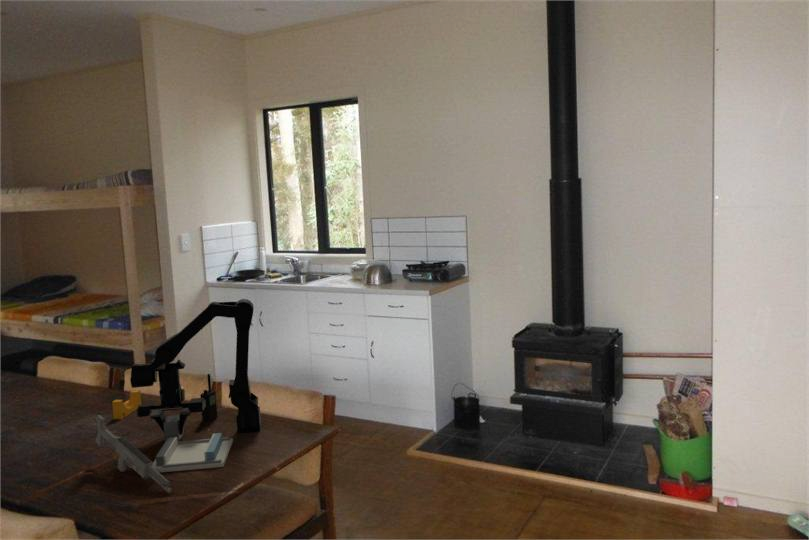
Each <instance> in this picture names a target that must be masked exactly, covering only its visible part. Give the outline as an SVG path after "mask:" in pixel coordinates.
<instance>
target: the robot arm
mask: <svg viewBox="0 0 809 540" xmlns="http://www.w3.org/2000/svg"><path fill="white" fill-rule="evenodd" d="M254 308H255V307H254V304H253V302H252V301H251V300H250V299H248V298H247V299H246V298H241V299H238V300H237V301H211V302H210V303H209V304H208V305H207V307H205V308H204V309H203V310H202V311H201V312H200V313H199V314H198V315H196V316H195V318H193V319H192V320H191V321H190V322H189V323H188V324H187V325H186V326H184V327H183V329H181V330H180V331H179V332H177V333H175V334H174V335H172V336H170V337H169V338H167V339H166V340H164V341H162V342H161V343H160V344H159V346H157V348H156V350H155V352H154V354H155V355H154V356H155V358H152V360H151V362H149V363H133V364H132V365H131V372H130V379H129V380H130V386H131V388H132V389H136V388H144V387H145V388H146V387H154V384H155V383H157V382H159V383H158V384H159V385H158V387H159V391H158V392H159V397H160V404H156V402H155V401H144V402H143V401H142V402H141V405H140V406H139V407H138V408H137V409H136V418H137V417H138V418H142V417H149V416H150V415H151V416H150V419H153V420H154V421H155V422H156V424H157V425H158V426H159V427H160V429H161V431H162V432H163V433H164V424H163V423H164V421H165V420H166V419H167V418H166V411H177V410H180V411H181V412H180V414H179V415H180V433H181V435H182V434H183V433H184V431H185V430H184V429H185V427H186V421H187V419H188V417H189V416H191V415H192V414H193V413H202V411H203V410H204V408H205V407H206V401H205V399H204V398H201V397H193V398H191V399H190V401H186V402H184V400H185V399H186V398H185V395H186V394H185V393H186V390H185V389H184V388H182V386H181V380H180V379H181V378H180V370H184V369H185V367H186V363H184V362H182V361H181V359H178V360H176V361H175V362H173V361H174V360H175V359H176V358H177V356H179V355H180V353H181V351H182V350H183V348H184V347H185V346H186V344H187V343H189V341H191V340H192V339H193V338H194V337H195V336H196V335H197V334H198V333H199V332H200V331H201V330H203V329H204V328H205V327H206V326H207V325H208V324H209V323H210V322H211V321H213V319H215V318H217V317H221V318H228V319H231V318H233V319H234V324H235V330H236V343H235V344H236V345H235V346H236V348H235V375H234V379H229V382H228V389H229V393H228V399H230V403H231V404H232V406H234V407H235V408H237V413H236V416H235V417H236V418H235V420H236V421H235V422H236V429H237V432H238V433H250V432H251V433H252V432H260V431H261V428H262V425H263V424H262V421H261V407H260V405H259V397H258V396H257V395H255V394H254V393H253V392H252V391H251V384H250V380H249V373H248V372H249V351H250V350H249V349H250V347H249V346H250V345H249V344H250V329H251V324H252V320H253V317H254ZM164 364H165V365H164ZM183 435H184V434H183ZM183 435H182V436H183Z"/></svg>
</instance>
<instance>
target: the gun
mask: <svg viewBox="0 0 809 540" xmlns="http://www.w3.org/2000/svg"><path fill="white" fill-rule="evenodd" d="M95 418H96V419H95V420H96V426H97V434H96V439H95V443H96V444H97V445H98V446H99V447H104V446H105V443H106V442H105V441H107V442H109V444H110V445H112V446H113V447H114V448H115V452H116V453H117V454H118V455H119V456H118V459H117V469H118V470H119V471H120V472H121V473H123V472H126V467H129V469H133V470H134V471H135V472H136V473H137V474H138V475H140V477H141V478H142V479H144V480H145V481H147V480H148V479H150V480H151V479H152V480H154V482H155V483H157V484H158V485H159V486H161V488H162V490H164V491H165V492H167V493H168V494H170V493H172V488H171V484H170V483H171V482H170V481H169V480H168V479H167V478H166V477H165V476H164V475H163V474H161V472H160V473H159V472H158V471H157V470H156V469H154V468H153V467H152V464H153V462H154V461H152V460H151V459H149V458H148V457H147V456H146V455H145V454H144V453H142V452H141V451H140V450H139V449H138V448H137V447H136V446H134V444H132V442H130V441H129V440H128V439H126V438H125V437H124V436H117V435H115V434H113V432H112V431H110V430H109V429H108V428H107V427H106V423H105V422H106V419H105V418H104V417H103V416H102V415H100V414H98V415H96V417H95Z"/></svg>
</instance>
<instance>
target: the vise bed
mask: <svg viewBox="0 0 809 540" xmlns="http://www.w3.org/2000/svg"><path fill="white" fill-rule="evenodd" d="M222 438H223V442H222V444H221V447H220V449H219V451H218V454H217V456H216V459H215V460H208V461H205V455H204V452H205V450H206V448H207V446H208V443H209V441H210V439H211V438H204V439H203V438H201V439H193V440H180V441H177V437H172V438H168V439H167V440H166V442H165V441H164V443H163V445H162V446H161V448H160V450H159V451H158V453H157V454H156V455H155V459H154V461H152V462H153V464H152V467H153V468H154V469H156V470H157V471H158V472H159V473H160V474H161V473H169V472H181V471H191V470H192V471H193V470H202V469H214V468H222V467H224V466H225V464H226V461H227V459H228V456H229V453H230V450H231V448H232V445H233V441H234V438H231V436H228V437H227V436H226V437H225V436H224V437H222Z"/></svg>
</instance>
